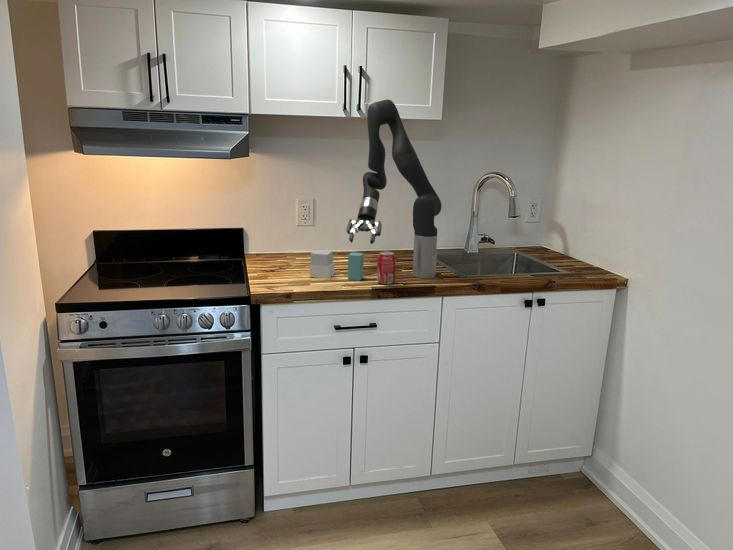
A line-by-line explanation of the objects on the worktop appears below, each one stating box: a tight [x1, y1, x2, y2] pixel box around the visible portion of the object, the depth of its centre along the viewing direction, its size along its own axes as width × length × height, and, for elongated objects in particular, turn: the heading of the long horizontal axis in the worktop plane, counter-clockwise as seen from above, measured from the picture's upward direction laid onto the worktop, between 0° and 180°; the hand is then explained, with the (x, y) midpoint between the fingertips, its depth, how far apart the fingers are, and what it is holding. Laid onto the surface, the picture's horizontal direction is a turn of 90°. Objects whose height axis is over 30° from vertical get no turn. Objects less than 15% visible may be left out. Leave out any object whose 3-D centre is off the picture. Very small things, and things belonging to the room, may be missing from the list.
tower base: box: [309, 262, 336, 280], centre depth 222 cm, size 8×8×5 cm
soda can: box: [376, 251, 397, 285], centre depth 213 cm, size 7×7×12 cm
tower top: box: [310, 249, 334, 267], centre depth 221 cm, size 7×7×5 cm
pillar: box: [347, 252, 365, 281], centre depth 218 cm, size 5×5×10 cm
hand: (361, 242), depth 225 cm, fingers open, 8 cm apart
